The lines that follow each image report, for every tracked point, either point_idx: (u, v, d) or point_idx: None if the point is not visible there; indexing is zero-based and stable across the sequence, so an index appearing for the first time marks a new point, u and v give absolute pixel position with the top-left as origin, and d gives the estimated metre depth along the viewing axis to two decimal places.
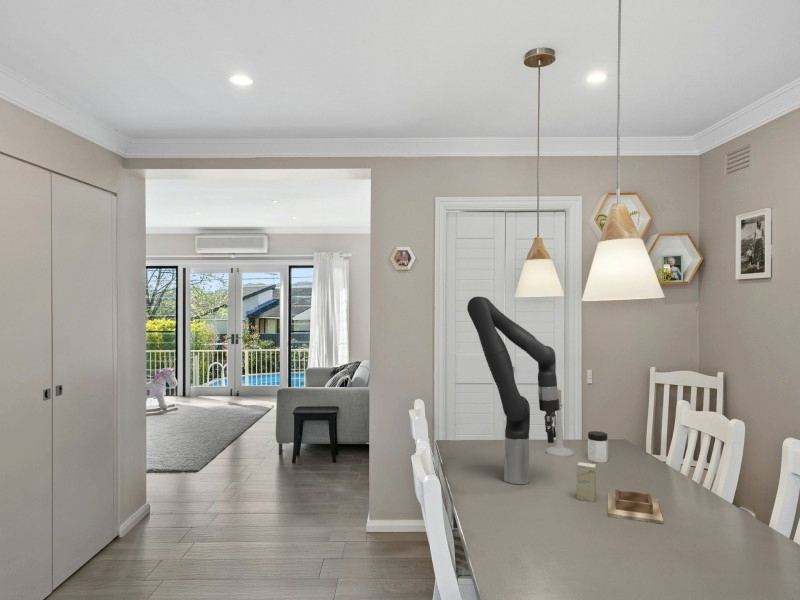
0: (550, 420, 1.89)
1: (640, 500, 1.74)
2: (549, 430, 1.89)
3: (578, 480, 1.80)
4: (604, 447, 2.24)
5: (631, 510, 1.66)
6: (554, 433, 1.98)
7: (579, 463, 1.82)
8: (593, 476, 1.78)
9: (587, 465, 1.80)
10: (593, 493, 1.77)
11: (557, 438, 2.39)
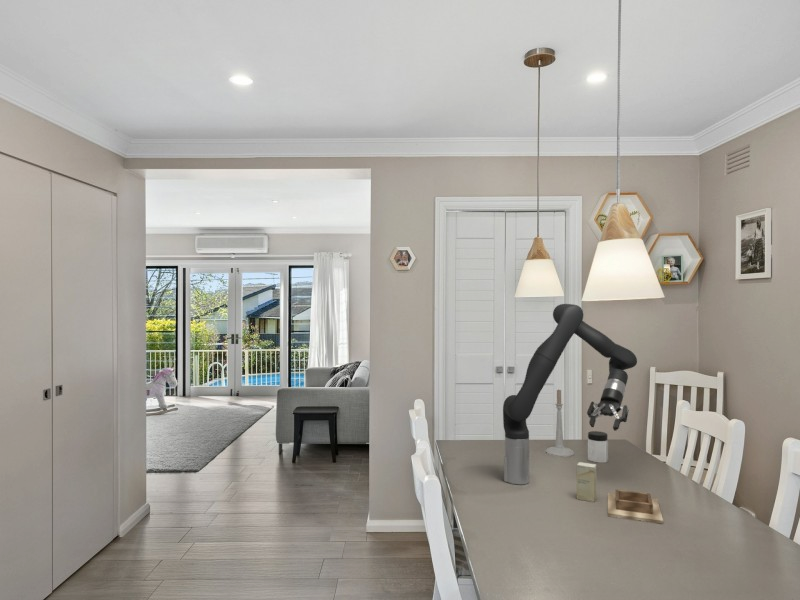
0: (627, 411, 1.91)
1: (640, 500, 1.74)
2: (625, 419, 1.89)
3: (578, 480, 1.80)
4: (604, 447, 2.24)
5: (631, 510, 1.66)
6: (594, 423, 1.94)
7: (579, 463, 1.82)
8: (593, 476, 1.78)
9: (587, 465, 1.80)
10: (593, 493, 1.77)
11: (557, 438, 2.39)
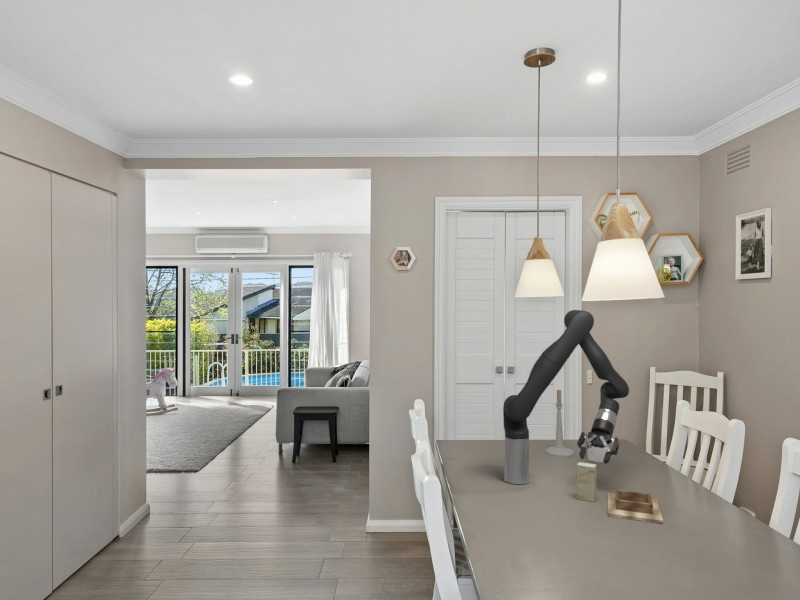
0: (618, 444, 1.86)
1: (640, 500, 1.74)
2: (616, 451, 1.84)
3: (578, 480, 1.80)
4: (604, 447, 2.24)
5: (631, 510, 1.66)
6: (584, 455, 1.89)
7: (579, 463, 1.82)
8: (593, 476, 1.78)
9: (587, 465, 1.80)
10: (593, 493, 1.77)
11: (557, 438, 2.39)
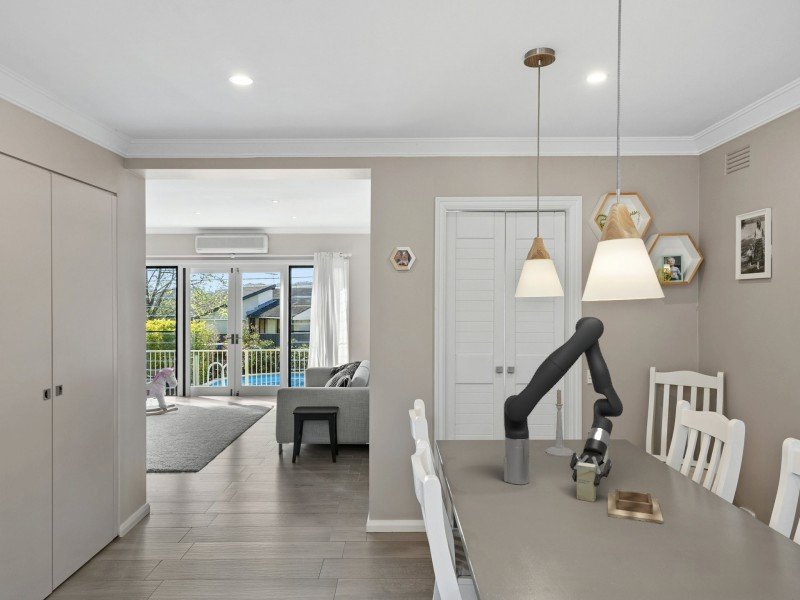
0: (610, 466, 1.80)
1: (640, 500, 1.74)
2: (606, 474, 1.78)
3: (578, 480, 1.80)
4: None
5: (631, 510, 1.66)
6: None
7: (579, 463, 1.82)
8: (593, 476, 1.78)
9: (587, 465, 1.80)
10: (593, 493, 1.77)
11: (557, 438, 2.39)
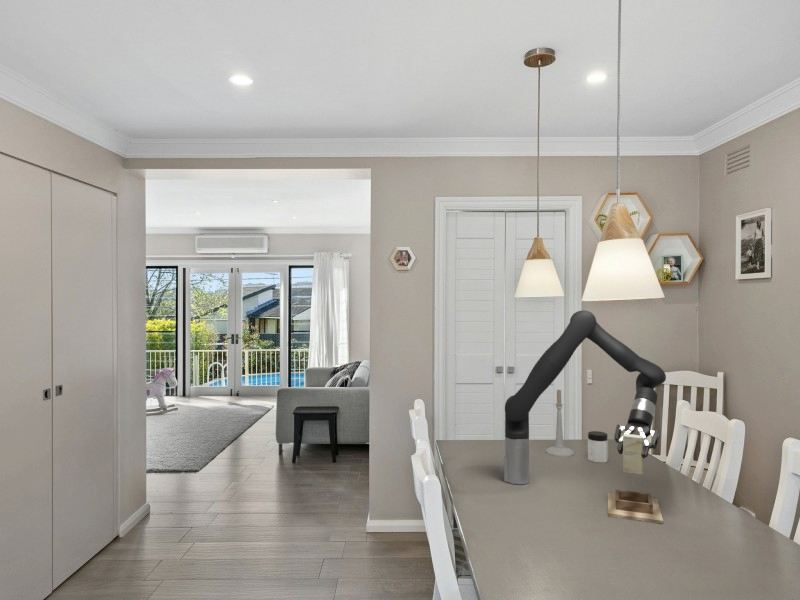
0: (658, 437, 1.71)
1: (640, 500, 1.74)
2: (655, 445, 1.69)
3: (624, 452, 1.71)
4: (604, 447, 2.24)
5: (631, 510, 1.66)
6: (622, 450, 1.74)
7: (625, 434, 1.73)
8: (641, 447, 1.69)
9: (634, 436, 1.71)
10: (641, 465, 1.69)
11: (557, 438, 2.39)
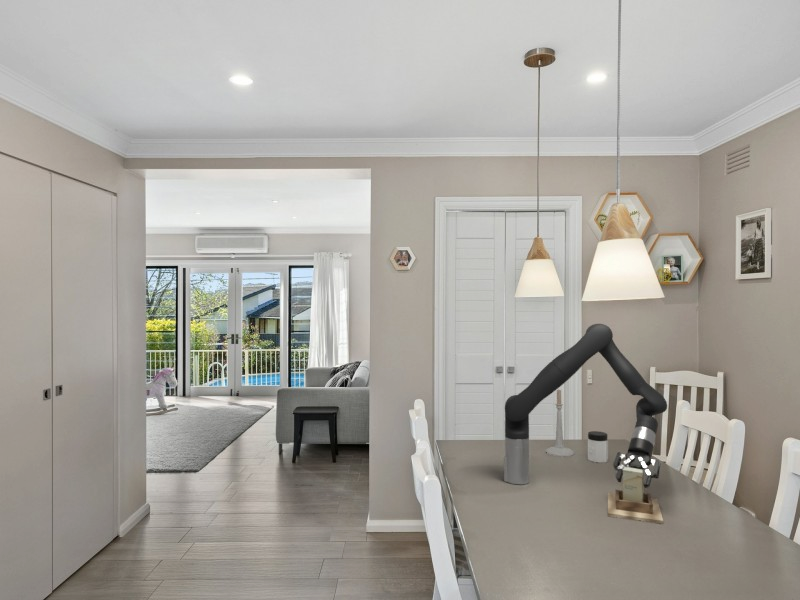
0: (659, 466, 1.71)
1: None
2: (657, 475, 1.68)
3: (624, 486, 1.71)
4: (604, 447, 2.24)
5: (631, 510, 1.66)
6: (621, 478, 1.74)
7: (625, 468, 1.73)
8: (641, 482, 1.68)
9: (634, 470, 1.71)
10: (641, 500, 1.68)
11: (557, 438, 2.39)
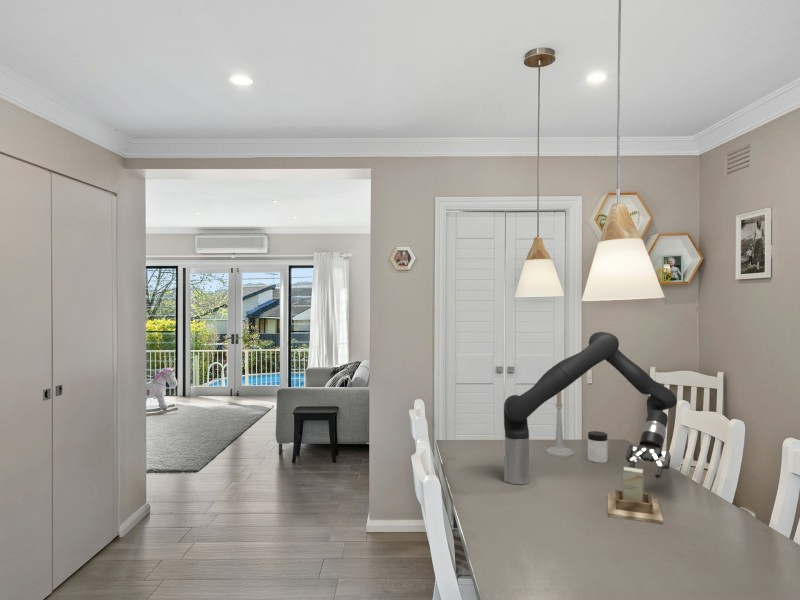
0: (670, 458, 1.80)
1: None
2: (668, 466, 1.78)
3: (624, 486, 1.71)
4: (604, 447, 2.24)
5: (631, 510, 1.66)
6: None
7: (625, 468, 1.73)
8: (641, 482, 1.68)
9: (634, 470, 1.71)
10: (641, 500, 1.68)
11: (557, 438, 2.39)
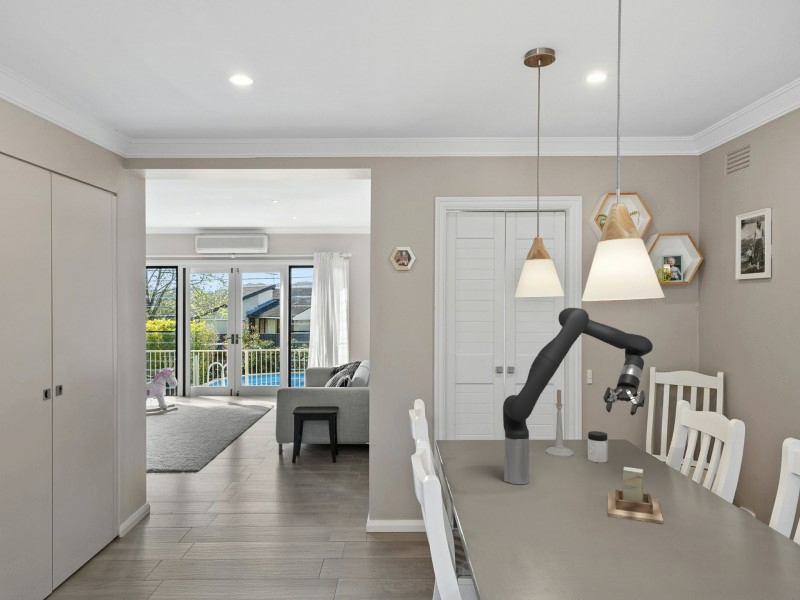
0: (644, 397, 1.91)
1: None
2: (642, 403, 1.89)
3: (624, 486, 1.71)
4: (604, 447, 2.24)
5: (631, 510, 1.66)
6: (610, 408, 1.94)
7: (625, 468, 1.73)
8: (641, 482, 1.68)
9: (634, 470, 1.71)
10: (641, 500, 1.68)
11: (557, 438, 2.39)
